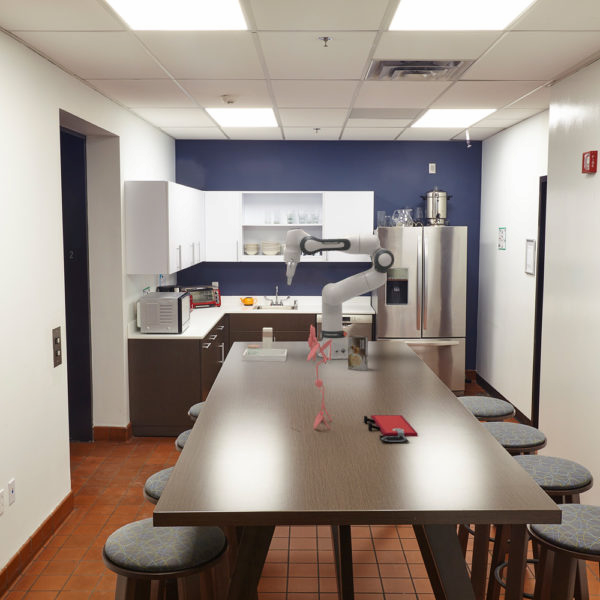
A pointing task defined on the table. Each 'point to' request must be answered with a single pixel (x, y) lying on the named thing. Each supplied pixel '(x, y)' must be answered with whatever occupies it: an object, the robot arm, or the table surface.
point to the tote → (266, 355)
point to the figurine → (314, 347)
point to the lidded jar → (253, 349)
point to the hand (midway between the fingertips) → (289, 284)
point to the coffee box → (358, 352)
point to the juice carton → (267, 338)
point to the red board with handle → (391, 427)
